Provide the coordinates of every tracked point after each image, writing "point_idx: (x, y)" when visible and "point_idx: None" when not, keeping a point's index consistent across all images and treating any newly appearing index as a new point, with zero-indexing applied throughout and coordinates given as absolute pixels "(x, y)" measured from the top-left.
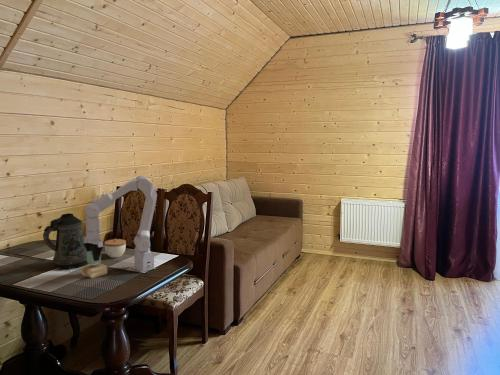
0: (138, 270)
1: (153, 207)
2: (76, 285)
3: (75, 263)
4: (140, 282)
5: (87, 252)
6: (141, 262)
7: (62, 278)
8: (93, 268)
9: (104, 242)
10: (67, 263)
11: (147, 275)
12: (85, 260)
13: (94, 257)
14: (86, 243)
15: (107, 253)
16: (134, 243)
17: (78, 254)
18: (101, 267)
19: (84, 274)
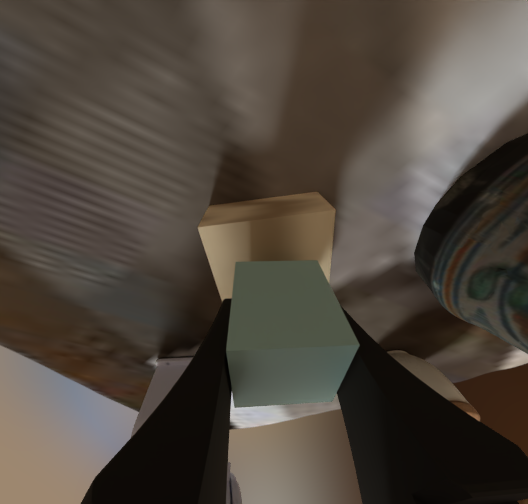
0: (174, 360)
1: None
2: (113, 44)
3: (457, 222)
4: (35, 325)
5: (333, 341)
6: (155, 401)
7: (358, 31)
8: (228, 252)
9: (475, 412)
10: (515, 174)
11: (115, 359)
12: (431, 280)
13: (211, 327)
14: (492, 502)
15: (410, 362)
16: (233, 500)
17: (511, 280)
18: (218, 290)
19: (284, 198)
